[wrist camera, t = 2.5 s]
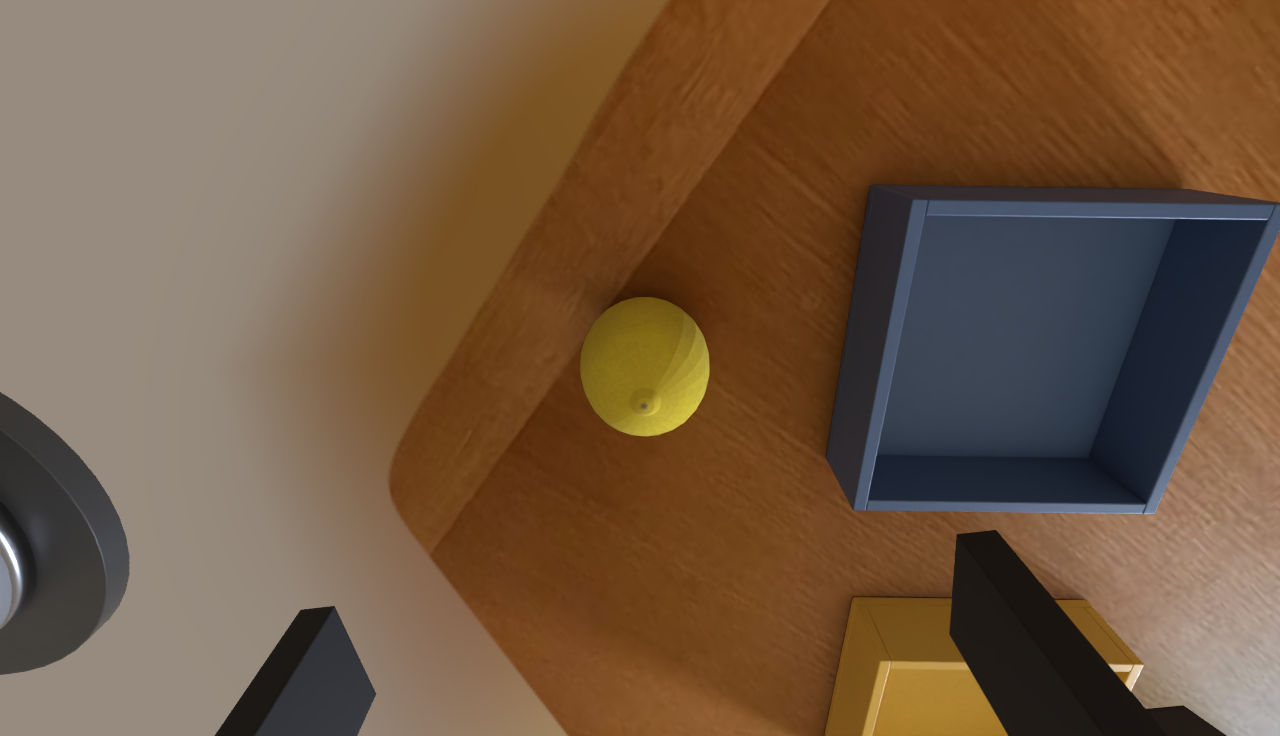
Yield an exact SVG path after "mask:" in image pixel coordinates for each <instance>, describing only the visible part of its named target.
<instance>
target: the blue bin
mask: <svg viewBox="0 0 1280 736" xmlns="http://www.w3.org/2000/svg"><path fill="white" fill-rule="evenodd" d="M1279 231H1280V203H1278V202H1271V201H1264V200H1258V199H1251V198H1244V197H1238V196H1231V195H1224V194H1217V193H1211V192H1204V191H1197V190H1191V189H1141V188H1067V187H994V186H921V185H870V188H869V194H868V200H867V207H866V213H865V219H864V225H863V231H862V237H861V244H860V250H859V256H858V262H857V268H856V274H855V281H854V287H853V293H852V299H851V305H850V312H849V318H848V324H847V330H846V336H845V342H844V349H843V355H842V361H841V367H840V373H839V379H838V386H837V392H836V398H835V404H834V410H833V417H832V423H831V429H830V435H829V441H828V447H827V454H826V459H827V461H828V463H829V465H830V467H831V469H832V471H833V472H834V474H835V476H836V478H837V480H838V482H839V484H840V486H841V488H842V490H843V492H844V493H845V495H846V497H847V499H848V501H849V503H850V505H851V507H852V509H853V510H879V511H957V512H1034V513H1111V514H1142V513H1143V514H1154V513H1155V512H1156V509H1157V507H1158V505H1159V503H1160V500H1161V498H1162V496H1163V493H1164V491H1165V489H1166V487H1167V484H1168V482H1169V480H1170V478H1171V475H1172V473H1173V471H1174V469H1175V466H1176V464H1177V462H1178V460H1179V457H1180V455H1181V453H1182V450H1183V448H1184V446H1185V444H1186V441H1187V439H1188V437H1189V435H1190V432H1191V430H1192V428H1193V426H1194V423H1195V421H1196V419H1197V417H1198V414H1199V412H1200V410H1201V407H1202V405H1203V403H1204V401H1205V398H1206V396H1207V394H1208V392H1209V389H1210V387H1211V385H1212V383H1213V380H1214V378H1215V376H1216V374H1217V371H1218V369H1219V367H1220V364H1221V362H1222V360H1223V358H1224V355H1225V353H1226V351H1227V349H1228V346H1229V344H1230V342H1231V340H1232V337H1233V335H1234V333H1235V330H1236V328H1237V326H1238V324H1239V321H1240V319H1241V317H1242V315H1243V312H1244V310H1245V308H1246V306H1247V303H1248V301H1249V299H1250V297H1251V294H1252V292H1253V290H1254V287H1255V285H1256V283H1257V281H1258V278H1259V276H1260V274H1261V272H1262V269H1263V267H1264V265H1265V263H1266V260H1267V258H1268V256H1269V254H1270V251H1271V249H1272V247H1273V244H1274V242H1275V240H1276V238H1277V235H1278V233H1279Z"/></svg>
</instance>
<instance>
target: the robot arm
mask: <svg viewBox="0 0 1280 736" xmlns="http://www.w3.org/2000/svg"><path fill="white" fill-rule="evenodd" d="M36 578H37V572H36V563H35V557H34V554H33V551H32V548H31V546H30V543H29V541H28V539H27V537H26V535H25V533H24V531H23V529H22V528H21V526H20V525H19V523H18V522H17V520H16V519H15V517H14V516H13V515H12V513H11V512H10V511H9V510H8V508H7V507H6V506H5V505H4V504H3V503H2V502H1V500H0V629H1V628H2V627H4V626H5V625H6V624H7V623H8V622H10V621H11V620H12V619H13V618H15V617H16V616H17V615H18V614H20V613H21V612H22V610H23V609H24V608H25V607H26V606H27V604H28V603H29V602H30V600H31V598H32V596H33V593H34V590H35V586H36ZM949 635H950V636H951V638H952V640H953V642H954V643H955V645H956V647H957V648H958V650H959V652H960V654H961V655H962V657H963V659H964V660H965V662H966V664H967V666H968V667H969V669H970V671H971V673H972V674H973V676H974V678H975V679H976V681H977V683H978V685H979V686H980V688H981V690H982V691H983V693H984V695H985V697H986V698H987V700H988V702H989V703H990V705H991V707H992V709H993V710H994V712H995V714H996V716H997V717H998V719H999V721H1000V722H1001V724H1002V726H1003V728H1004V729H1005V731H1006V733H1007V734H1008V736H1226V735H1225V734H1223V733H1222V732H1220V731H1219V730H1218V729H1216V728H1215V727H1213V726H1212V725H1210V724H1209V723H1208V722H1206V721H1205V720H1203V719H1202V718H1200V717H1199V716H1198V715H1196V714H1195V713H1193V712H1192V711H1191V710H1189V709H1188V708H1186V707H1185V706H1173V707H1163V708H1152V709H1145V708H1144V707H1143V705H1142V704H1141V703H1140V702H1139V701H1138V699H1137V698H1136V697H1135V696H1134V695H1133V693H1132V692H1131V691H1130V690H1129V689H1128V688H1127V686H1126V685H1125V684H1124V683H1123V682H1122V680H1121V679H1120V678H1119V677H1118V676H1117V674H1116V673H1115V672H1114V671H1113V670H1112V668H1111V667H1110V666H1109V665H1108V664H1107V662H1106V661H1105V660H1104V659H1103V658H1102V656H1101V655H1100V654H1099V653H1098V652H1097V650H1096V649H1095V648H1094V647H1093V646H1092V644H1091V643H1090V642H1089V641H1088V640H1087V638H1086V637H1085V636H1084V635H1083V634H1082V632H1081V631H1080V630H1079V629H1078V628H1077V626H1076V625H1075V624H1074V623H1073V622H1072V620H1071V619H1070V618H1069V617H1068V616H1067V614H1066V613H1065V612H1064V611H1063V610H1062V608H1061V607H1060V606H1059V605H1058V604H1057V603H1056V601H1055V600H1054V599H1053V598H1052V597H1051V595H1050V594H1049V593H1048V592H1047V591H1046V589H1045V588H1044V587H1043V586H1042V585H1041V583H1040V582H1039V581H1038V580H1037V579H1036V577H1035V576H1034V575H1033V574H1032V573H1031V571H1030V570H1029V569H1028V568H1027V567H1026V565H1025V564H1024V563H1023V562H1022V561H1021V559H1020V558H1019V557H1018V556H1017V555H1016V553H1015V552H1014V551H1013V550H1012V549H1011V547H1010V546H1009V545H1008V544H1007V543H1006V541H1005V540H1004V539H1003V538H1002V537H1001V535H1000V534H999V533H998V532H997V531H996V530H991V531H983V532H974V533H965V534H957V539H956V552H955V565H954V578H953V591H952V604H951V617H950V630H949ZM375 695H376V693H375V691H374V688H373V686H372V684H371V682H370V680H369V678H368V676H367V674H366V672H365V669H364V668H363V665H362V663H361V661H360V659H359V657H358V655H357V653H356V650H355V649H354V646H353V644H352V642H351V640H350V638H349V636H348V634H347V632H346V629H345V627H344V625H343V623H342V621H341V619H340V617H339V615H338V613H337V611H336V608H335V606H331V607H322V608H313V609H304V610H300V612H299V613H298V615H297V616H296V617H295V619H294V620H293V622H292V623H291V625H290V626H289V628H288V629H287V631H286V632H285V634H284V635H283V636H282V638H281V639H280V641H279V642H278V644H277V645H276V647H275V649H274V650H273V651H272V653H271V654H270V656H269V657H268V658H267V660H266V661H265V663H264V664H263V666H262V667H261V669H260V670H259V672H258V673H257V675H256V676H255V678H254V679H253V680H252V682H251V683H250V685H249V686H248V688H247V689H246V691H245V692H244V694H243V695H242V697H241V698H240V699H239V701H238V702H237V704H236V705H235V707H234V708H233V710H232V711H231V713H230V714H229V716H228V717H227V719H226V720H225V722H224V723H223V724H222V726H221V727H220V729H219V730H218V732H217V733H216V735H215V736H357V735H358V733H359V730H360V728H361V726H362V724H363V721H364V720H365V717H366V715H367V713H368V711H369V709H370V706H371V704H372V702H373V700H374V697H375Z"/></svg>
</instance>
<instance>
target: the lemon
mask: <svg viewBox="0 0 1280 736" xmlns="http://www.w3.org/2000/svg"><path fill="white" fill-rule="evenodd" d="M580 375H581V380H582V384H583V387H584V391H585V394H586V397H587V399H588V400H589V402H590V404H591V406H592V407H593V409H594V411H595V412H596V413H597V414H598V415H599V416H600V417H601V418H602V419H603V420H604V421H605V422H606V423H607V424H609V425H610V426H612V427H614V428H615V429H617V430H618V431H621V432H624V433H627V434H630V435H637V436H652V435H660V434H663V433H665V432H668V431H671V430H673V429H675V428H676V427H678V426H679V425H681V424H683V423H684V422H685V421H686V420H687V419H688V418H689V417H690V416H691V415H692V414H693V413H694V412H695V411H696V409H697V407H698V405H699V403H700V402H701V400H702V398H703V396H704V394H705V391H706V386H707V382H708V378H709V352H708V349H707V346H706V343H705V339H704V336H703V334H702V332H701V331H700V329H699V328H698V326H697V325H696V323H695V322H694V320H693V319H692V318H691V317H690V316H689V315H688V314H687V313H685V312H684V311H683V310H682V309H681V308H680V307H678V306H676V305H674V304H672V303H670V302H668V301H666V300H662V299H658V298H654V297H636V298H632V299H628V300H624V301H621V302H619V303H617V304H616V305H614V306H612V307H610V308H608V309H607V310H606V311H605V312H604V313H603V314H602V315H601V316H600V317H599V318H598V319H597V320H596V321H595V322H594V324H593V326H592V327H591V329H590V330H589V332H588V334H587V335H586V338H585V341H584V345H583V348H582V351H581V356H580Z"/></svg>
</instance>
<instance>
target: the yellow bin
mask: <svg viewBox="0 0 1280 736" xmlns="http://www.w3.org/2000/svg"><path fill="white" fill-rule="evenodd" d="M1055 601H1056V603H1057V604H1058V605H1059V606H1060V607H1061V608H1062V610H1063V611H1064V612H1065V613H1066V614H1067V616H1068V617H1069V618H1070V619H1071V620H1072V622H1073V623H1074V624H1075V625H1076V626H1077V628H1078V629H1079V630H1080V631H1081V632H1082V634H1083V635H1084V636H1085V637H1086V638H1087V640H1088V641H1089V642H1090V643H1091V644H1092V646H1093V647H1094V648H1095V649H1096V650H1097V652H1098V653H1099V654H1100V655H1101V656H1102V658H1103V659H1104V660H1105V661H1106V662H1107V664H1108V665H1109V666H1110V667H1111V668H1112V670H1113V671H1114V672H1115V673H1116V674H1117V676H1118V677H1119V678H1120V679H1121V680H1122V682H1123V683H1124V684H1125V685H1126V686H1127V688H1128V689H1129V690H1130V691H1131V690H1132V688H1133V686H1134V684H1135V682H1136V680H1137V678H1138V676H1139V674H1140V672H1141V670H1142V668H1143V666H1144V664H1143V663H1142V662H1141V661H1140V659H1139V658H1138V657H1137V656H1136V655H1135V654H1134V653H1133V652H1132V651H1131V650H1130V648H1129V647H1128V646H1127V645H1126V644H1125V643H1124V642H1123V641H1122V640H1121V638H1120V637H1119V636H1118V635H1117V634H1116V633H1115V632H1114V631H1113V630H1112V628H1111V627H1110V626H1109V625H1108V624H1107V623H1106V622H1105V621H1104V620H1103V618H1102V617H1101V616H1100V615H1099V614H1098V613H1097V612H1096V611H1095V610H1094V608H1092V606H1091V605H1090V604H1089V603H1088V602H1087V601H1086V600H1055ZM951 604H952V598H886V597H853V599H852V604H851V609H850V613H849V618H848V623H847V628H846V633H845V638H844V643H843V647H842V652H841V657H840V662H839V667H838V672H837V677H836V681H835V686H834V691H833V696H832V701H831V706H830V711H829V715H828V720H827V725H826V730H825V735H824V736H1008V734H1007V733H1006V731H1005V729H1004V728H1003V726H1002V724H1001V722H1000V721H999V719H998V717H997V716H996V714H995V712H994V710H993V709H992V707H991V705H990V703H989V702H988V700H987V698H986V697H985V695H984V693H983V691H982V690H981V688H980V686H979V685H978V683H977V681H976V679H975V678H974V676H973V674H972V673H971V671H970V669H969V667H968V666H967V664H966V662H965V660H964V659H963V657H962V655H961V654H960V652H959V650H958V648H957V647H956V645H955V643H954V642H953V640H952V638H951V636H950V635H949V630H950V617H951Z"/></svg>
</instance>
